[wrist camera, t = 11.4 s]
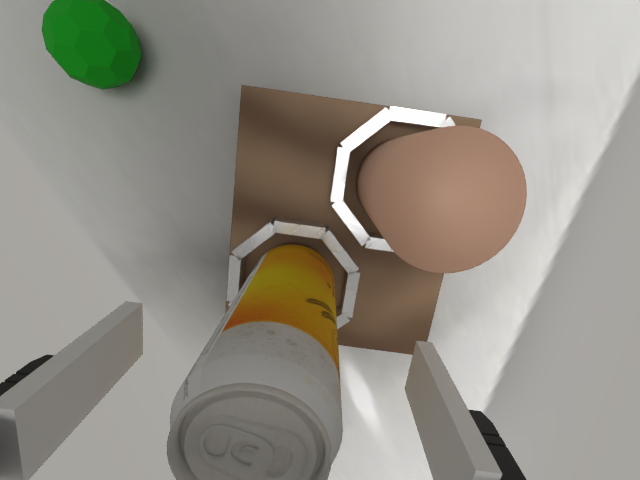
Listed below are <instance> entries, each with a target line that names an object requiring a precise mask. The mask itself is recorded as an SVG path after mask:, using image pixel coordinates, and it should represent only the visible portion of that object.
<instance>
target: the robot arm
mask: <svg viewBox="0 0 640 480" xmlns="http://www.w3.org/2000/svg"><path fill="white" fill-rule="evenodd" d="M142 314H143V313H142V303H135V302H128V301H126V302H125V303H123V304H122V305H121V306H119V307H118V308H117V309H115V310H114V311H113V312H111V313H110V314H109V315H107V316H106V317H105V318H103V319H102V320H101V321H99V322H98V323H97V324H96V325H94V326H93V327H92V328H90V329H89V330H88V331H86V332H85V333H84V334H82V335H81V336H80V337H79V338H77V339H76V340H74V341H73V342H72V343H70V344H69V345H68V346H66V347H65V348H64V349H62V350H61V351H60V352H58V353H57V354H56V355H45V356H43V357H41V358H39V359H36V360H34V361H32V362H30V363H28V364H27V365H26V366H24V367H23V368H21V369H20V370H19V371H17V372H16V374H13V375H12V376H10V377H9V378H7V379H6V380H5V382H2V383H1V384H0V480H29V479H30V478H31V477H32V476H33V474H34V473H35V472H36V471H37V470H38V469H39V468H40V466H42V465H43V463H44V462H45V461H46V460H47V459H48V458H49V457H50V456H51V455H52V454H53V452H54V451H55V450H56V449H57V448H58V447H59V446H60V445H61V444H62V442H63V441H64V440H65V439H66V438H67V437H68V435H70V434H71V433H72V431H73V430H74V429H75V428H76V427H77V426H78V425H79V424H80V423H81V421H82V420H83V419H84V418H85V417H86V416H87V415H88V414H89V412H91V410H92V409H93V408H94V407H95V406H96V405H97V404H98V403H99V402H100V400H101V399H102V398H103V397H104V396H105V395H106V394H107V393H108V392H109V391H110V389H111V388H112V387H113V386H114V385H115V384H116V383H117V382H118V381H119V380H120V378H121V377H122V376H123V375H124V374H125V373H126V372H127V371H128V370H129V368H130V367H131V366H132V365H133V364H134V363H135V362H136V361H137V360H138V358H139V357H140V356H141V355H142V354H143V315H142ZM405 391H406V395H407V398H408V401H409V404H410V407H411V410H412V413H413V417H414V420H415V423H416V426H417V429H418V432H419V435H420V439H421V442H422V445H423V448H424V451H425V454H426V457H427V461H428V464H429V467H430V470H431V473H432V476H433V480H526V478H525V477H524V475H523V473H522V472H521V470H520V468H519V466H518V465H517V463H516V461H515V460H514V458H513V456H512V455H511V453H510V451H509V450H508V448H507V447H506V445H505V443H504V441H503V440H502V438H501V437H500V436H499V433H498V431H497V430H496V428H495V426H494V425H493V423H492V422H491V421H490V420H489V419H488V418H487V417H486V416H485V415H484V414H483V413H482V412H481V411H474V410H468V409H467V407H466V405H465V403H464V401H463V399H462V397H461V396H460V394H459V392H458V390H457V388H456V386H455V384H454V382H453V381H452V379H451V377H450V375H449V373H448V371H447V369H446V367H445V366H444V364H443V362H442V360H441V358H440V356H439V354H438V353H437V351H436V349H435V347H434V345H433V343H431V342H424V341H416V344H415V348H414V352H413V357H412V361H411V365H410V369H409V373H408V377H407V381H406V385H405Z"/></svg>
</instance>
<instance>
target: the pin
mask: <svg viewBox="0 0 640 480" xmlns="http://www.w3.org/2000/svg"><path fill="white" fill-rule="evenodd" d="M356 191H357V195H358V199H359V201H360V203H361V205H362V206H363V208H364V209H365V211H366V212H367V214H368V215H369V217H370V218H371V220H372V221H373V223H374V224H375V226H376V227H377V229H378V230H379V232H380V233H381V235H382V236H383V238H384V239H385V241H386V242H387V243H388V245H389V246H390V248H391V249H392V250H393V251H394V252H395V253H396V254H397V255H398V256H399V257H400V258H401V259H403V260H404V261H405V262H407V263H408V264H410V265H412V266H414V267H416V268H419V269H422V270H425V271H429V272H434V273H455V272H460V271H464V270H468V269H471V268H474V267H476V266H478V265H481V264H482V263H484V262H486V261H488V260H489V259H490V258H492V257H493V256H495V255H496V254H497V253H498V252H499V251H500V250H501V249H503V248H504V246H505V245H506V244H507V243H508V242H509V241H510V239H511V238H512V236H513V235H514V233H515V232H516V230H517V228H518V226H519V224H520V222H521V219H522V216H523V214H524V209H525V205H526V196H527V190H526V180H525V175H524V172H523V169H522V166H521V164H520V162H519V160H518V158H517V156H516V155H515V154H514V152H513V151H512V149H511V148H510V147H509V146H508V145H507V144H506V143H505V142H504V141H502V140H501V139H500V138H498V137H497V136H495V135H493V134H492V133H490V132H488V131H485V130H482V129H480V128H475V127H471V126H460V125H458V126H447V127H442V128H437V129H433V130H428V131H424V132H419V133H415V134H411V135H406V136H402V137H398V138H393V139H389V140H386V141H384V142H382V143H380V144H378V145H377V146H375V147H374V148H373V149H371V150H370V151H369V152H368V154H367V155H366V156H365V157H364V159H363V160H362V162H361V164H360V166H359V169H358V172H357V176H356Z"/></svg>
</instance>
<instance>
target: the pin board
mask: <svg viewBox="0 0 640 480" xmlns="http://www.w3.org/2000/svg"><path fill="white" fill-rule="evenodd" d="M389 107H390V106H383V105H376V104H369V103H362V102H355V101H348V100H341V99H335V98H328V97H321V96H314V95H307V94H300V93H293V92H286V91H279V90H272V89H265V88H258V87H252V86H245V85H242V87H241V101H240V115H239V129H238V143H237V158H236V172H235V186H234V200H233V214H232V228H231V242H230V254H231V253H232V251H233V250H234V249H235V248H236V247H237V246H238V245H239V244H240V243H242V242H243V241H244V240H246V239H247V238H248V237H250V236H251V235H252V234H253V233H255V232H256V231H257V230H259V229H260V228H261V227H263V226H264V225H265V224H266V223H268V222H269V221H270V220H272V219H273V218H274V219H275V220H276V218H277V217H281V218H289V219H296V220H303V221H310V222H318V223H325V224H326V228H327V227H328V226H330V227H331V229H332V230H333V231H334V233H335V234H336V235H337V237H338V238H339V239H340V240H341V242H342V243H343V244H344V246H345V247H346V248H347V250H348V251H349V252H350V254H351V255H352V256H353V257H354V259H355V260H356V261H357V263H358V267H359V271H360V277H359V282H358V288H357V293H356V299H355V305H354V310H353V316H352V318H350V321H349V322H348V323H346V324H345V325H343V326H342V327H340V328H339V329H337V336H338V345H344V346H352V347H359V348H367V349H374V350H382V351H389V352H397V353H404V354H412V355H413V352H414V348H415V344H416V341H424V342H427V339H428V335H429V331H430V327H431V323H432V319H433V315H434V311H435V307H436V303H437V299H438V295H439V291H440V287H441V283H442V279H443V275H444V273H434V272H429V271H425V270H422V269H419V268H416V267H414V266H412V265H410V264H408V263H407V262H405V261H404V260H403V259H401V258H400V257H399V256H398V255H397V254H396V253H395V252H391V251H384V250H376V249H369V248H365V246H364V245H362V246H361V244H360V243H359V242H358V240H357V239H356V238H355V236H354V235H353V234H352V232H351V231H350V230H349V228H348V227H347V226H346V224H345V223H344V222H343V220H342V219H341V218H340V216H339V215H338V214H337V212H336V211H335V210H334V208H333V207H332V206H331V202H332V201H330V195H331V188H332V181H333V174H334V168H335V161H336V154H337V147H341V148H342V146H341V145H340V143H341V142H342V141H344V140H345V139H346V138H348V137H349V136H350V135H351V134H353V133H354V132H355V131H357V130H358V129H359V128H360V127H362V126H363V125H364V124H366V123H367V122H368V121H369V120H371V119H372V118H373V117H375V116H376V115H377V114H378V113H380V112H381V111H382V110H383V109H385V108H387V109H388V108H389ZM448 117H451V119H452V120H453V122H454V123H455V125H456V126H458V125H460V126H471V127H475V128H480V125H481V120H480V119H473V118H466V117H459V116H452V115H446V118H448ZM428 130H433V129H430V128H423V127H416V126H409V125H402V124H395V123H387V124H385V125H384V126H383V127H382V128H380V129H379V130H378V131H376V132H375V133H374V134H372V135H371V136H370V137H369V138H367V139H366V140H365V141H363V142H362V143H361V144H359V145H358V146H357V147H356V148H354V149H353V150H352V151H350V156H349V162H348V169H347V175H346V181H345V188H344V194H343V200H344V201H345V203H346V204H347V205H348V207H349V208H350V209H351V211H352V212H353V214H354V215H355V216H356V218H357V219H358V220H359V222H360V223H361V224H362V226H363V227H364V228H365V230H366V231H367V232H370V233H377V234H381V233H380V232H379V230H378V229H377V227H376V226H375V224H374V223H373V221H372V220H371V218H370V217H369V215H368V214H367V212H366V211H365V209H364V208H363V206H362V205H361V203H360V201H359V199H358V195H357V191H356V176H357V172H358V169H359V166H360V164H361V162H362V160H363V159H364V157H365V156H366V155H367V154H368V152H369V151H370V150H371V149H373V148H374V147H375V146H377V145H378V144H380V143H382V142H384V141H386V140H389V139H393V138H398V137H402V136H406V135H411V134H415V133H419V132H424V131H428ZM288 244H295V245H302V246H305V247H308V248H311V249H313V250H314V251H316V252H317V253H319V254H320V255H321V256H322V257H323V258H324V259H325V260H326V261H327V263H328V264H329V266H330V268H331V270H332V272H333V276H334V282H335V300H336V308H337V307H339V306H340V305H341V301H342V295H343V289H344V283H345V277H346V270H345V269H344V267H343V266H342V265H341V264H340V262H339V261H338V260H337V258H336V257H335V256H334V255H333V253H332V252H331V251H330V249H329V248H328V247H327V246H326V244H325V243H324V242H323V240H322V239H317V238H310V237H303V236H295V235H288V234H281V233H275V234H273V235H272V236H271V237H270V238H268V239H267V240H266V241H264V242H263V243H262V244H260V245H259V246H258V247H256V248H255V249H254V250H252V251H251V252H250V253H248V254H247V255H246V258H245V270H244V282H243V285H244V283H245V281H246V280H247V278H248V277H249V275H250V273H251V272H252V270H253V268H254V267H255V265H256V264H257V262H258V260H259V259H260V258H261V257H262V256H263V255H264V254H265V253H267V252H268V251H269V250H271V249H273V248H275V247H278V246H282V245H288ZM229 258H230V256H229ZM228 272H229V270H228ZM227 286H228V284H227ZM226 300H227V298H226ZM229 302H230V301H226V312H227V311H228V309H229V305H228V303H229ZM226 312H225V314H226Z"/></svg>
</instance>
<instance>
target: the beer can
mask: <svg viewBox="0 0 640 480" xmlns="http://www.w3.org/2000/svg"><path fill="white" fill-rule="evenodd" d="M341 440H342V408H341V390H340V372H339V354H338V336H337V318H336V300H335V282H334V276H333V272H332V270H331V268H330V266H329V264H328V263H327V261H326V260H325V259H324V258H323V257H322V256H321V255H320V254H319V253H317V252H316V251H314V250H313V249H311V248H308V247H305V246H302V245H295V244H288V245H282V246H278V247H275V248H273V249H271V250H269V251H268V252H267V253H265V254H264V255H263V256H262V257H261V258H260V259H259V260H258V262H257V264H256V265H255V267H254V268H253V270H252V272H251V273H250V275H249V277H248V278H247V280H246V281H245V283H244V285H243V286H242V288H241V290H240V291H239V293H238V294H237V296H236V298H235V299H234V301H233V303H232V304H231V306H230V307H229V309H228V311H227V312H226V314H225V316H224V317H223V319H222V320H221V322H220V324H219V325H218V327H217V329H216V330H215V332H214V333H213V335H212V337H211V338H210V340H209V342H208V343H207V345H206V346H205V348H204V350H203V351H202V353H201V355H200V356H199V358H198V359H197V361H196V363H195V364H194V366H193V367H192V369H191V371H190V372H189V374H188V376H187V377H186V379H185V381H184V382H183V384H182V385H181V387H180V389H179V390H178V392H177V394H176V396H175V399H174V401H173V404H172V408H171V415H170V432H169V436H168V441H167V456H168V462H169V465H170V468H171V470H172V473H173V475H174V476H175V478H176V480H327V478H328V476H329V472H330V469H331V465H332V463H333V461H334V459H335V457H336V455H337V453H338V451H339V448H340V444H341Z"/></svg>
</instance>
